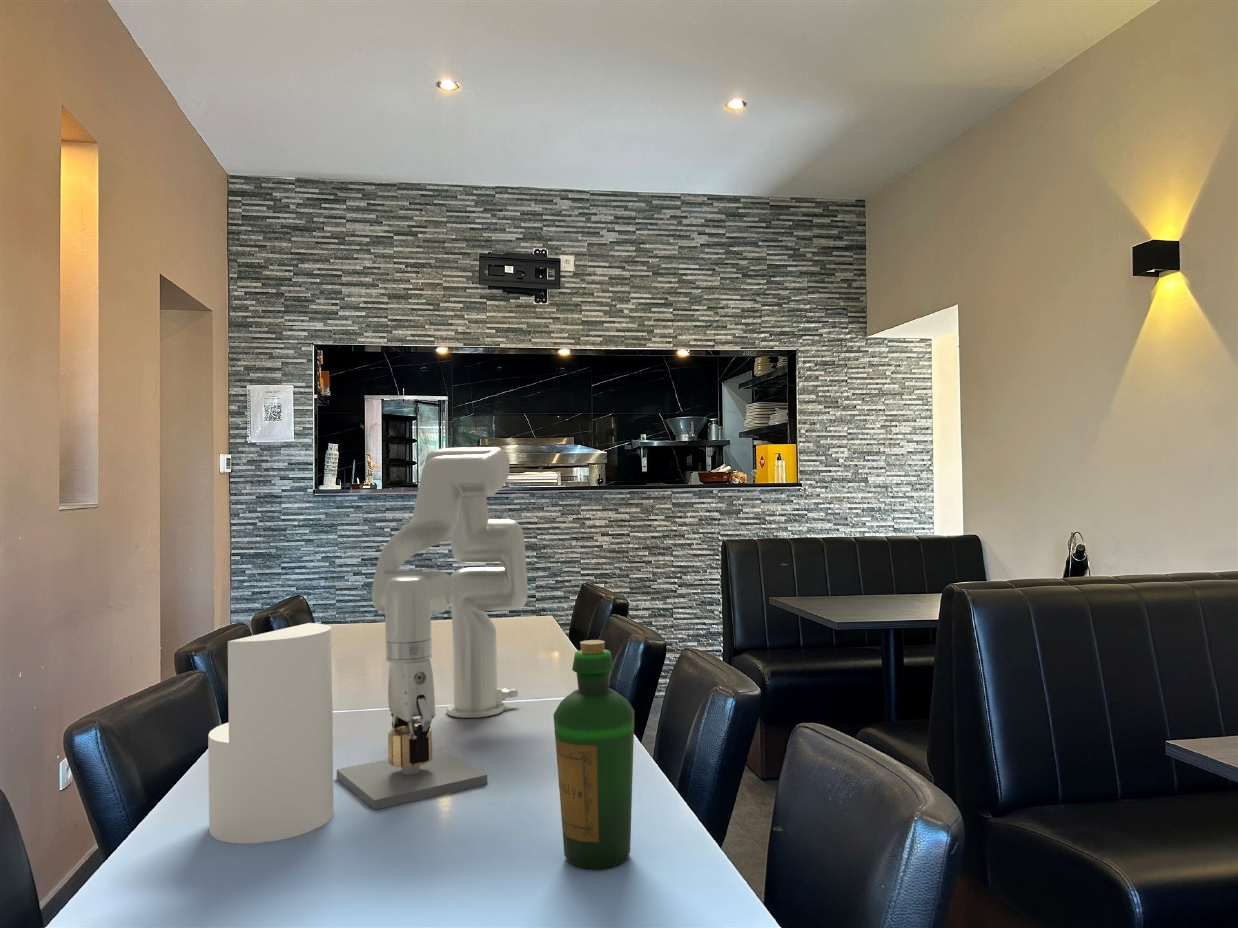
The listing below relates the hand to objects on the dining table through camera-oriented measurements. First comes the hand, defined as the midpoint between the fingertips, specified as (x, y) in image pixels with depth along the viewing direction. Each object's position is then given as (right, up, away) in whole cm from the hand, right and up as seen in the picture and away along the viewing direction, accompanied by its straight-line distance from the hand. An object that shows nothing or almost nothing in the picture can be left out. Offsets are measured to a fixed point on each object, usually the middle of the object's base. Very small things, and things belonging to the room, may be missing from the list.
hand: (410, 755), depth 147 cm
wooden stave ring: (0, -1, 0) cm, 1 cm away
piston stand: (0, -4, 0) cm, 4 cm away
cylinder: (-17, -4, -17) cm, 24 cm away
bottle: (+32, -3, -33) cm, 46 cm away
